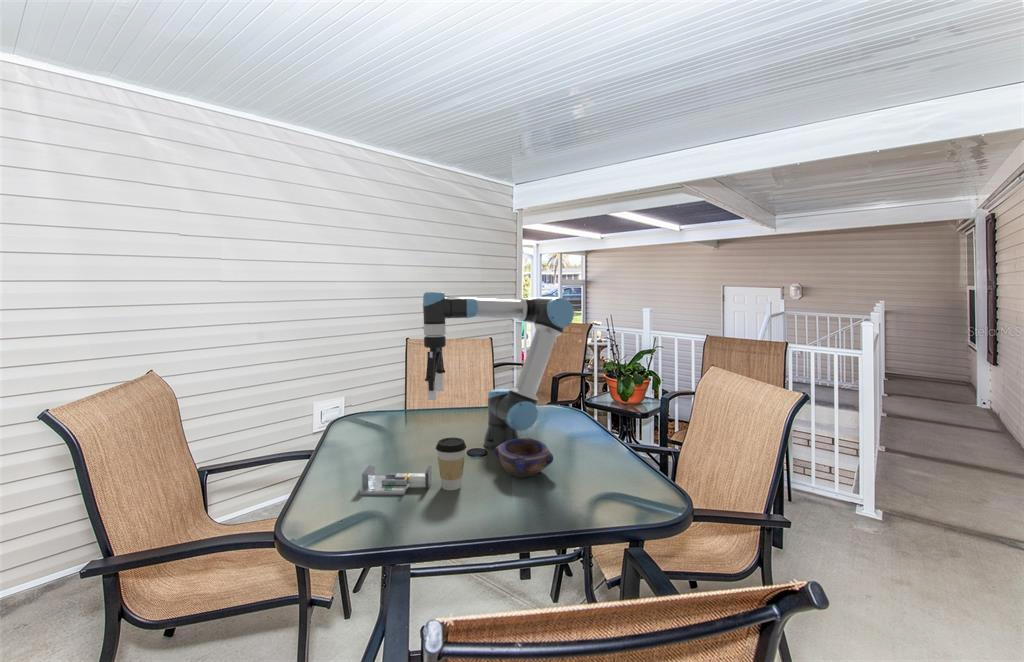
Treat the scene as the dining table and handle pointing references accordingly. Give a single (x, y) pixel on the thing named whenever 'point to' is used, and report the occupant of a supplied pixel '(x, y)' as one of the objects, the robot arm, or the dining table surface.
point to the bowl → (523, 456)
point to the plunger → (417, 477)
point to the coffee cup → (451, 462)
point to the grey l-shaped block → (382, 484)
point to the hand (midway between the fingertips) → (436, 395)
